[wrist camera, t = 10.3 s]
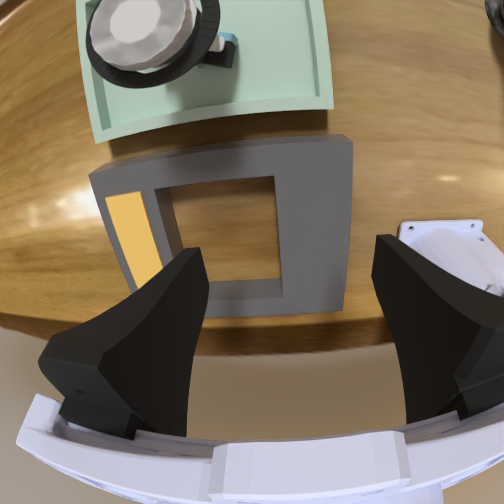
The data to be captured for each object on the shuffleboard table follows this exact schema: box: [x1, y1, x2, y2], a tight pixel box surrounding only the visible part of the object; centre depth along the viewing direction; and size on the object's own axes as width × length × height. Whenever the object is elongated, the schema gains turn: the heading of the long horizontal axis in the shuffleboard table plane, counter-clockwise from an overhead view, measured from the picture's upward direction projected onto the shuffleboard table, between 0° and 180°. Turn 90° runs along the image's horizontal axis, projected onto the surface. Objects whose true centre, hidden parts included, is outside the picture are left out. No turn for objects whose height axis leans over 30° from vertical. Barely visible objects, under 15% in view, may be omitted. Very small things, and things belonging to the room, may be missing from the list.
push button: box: [86, 0, 238, 89], centre depth 10 cm, size 7×5×10 cm
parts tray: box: [76, 0, 334, 144], centre depth 14 cm, size 16×12×2 cm
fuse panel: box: [89, 134, 353, 318], centre depth 22 cm, size 18×14×3 cm
